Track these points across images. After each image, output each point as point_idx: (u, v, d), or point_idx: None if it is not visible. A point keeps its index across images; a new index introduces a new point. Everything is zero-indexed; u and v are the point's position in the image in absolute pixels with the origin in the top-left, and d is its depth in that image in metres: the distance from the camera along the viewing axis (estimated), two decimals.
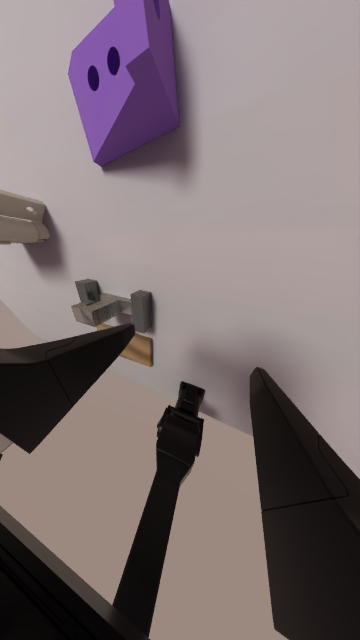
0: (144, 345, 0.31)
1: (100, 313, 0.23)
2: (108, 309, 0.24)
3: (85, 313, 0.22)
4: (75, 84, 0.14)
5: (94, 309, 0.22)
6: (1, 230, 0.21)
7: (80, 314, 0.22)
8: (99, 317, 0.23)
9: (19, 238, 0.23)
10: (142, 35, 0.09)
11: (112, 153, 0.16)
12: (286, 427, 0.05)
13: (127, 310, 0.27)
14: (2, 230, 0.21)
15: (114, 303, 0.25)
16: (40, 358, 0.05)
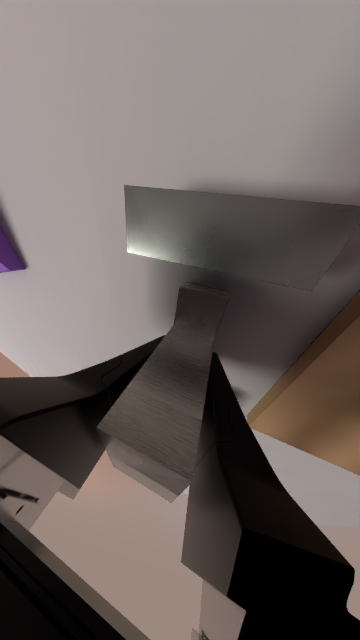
0: None
1: (153, 391, 0.05)
2: (168, 358, 0.06)
3: (117, 452, 0.04)
4: None
5: None
6: None
7: (133, 470, 0.05)
8: (164, 408, 0.05)
9: None
10: None
11: None
12: (210, 396, 0.05)
13: (209, 310, 0.08)
14: None
15: (170, 336, 0.08)
16: (99, 386, 0.05)
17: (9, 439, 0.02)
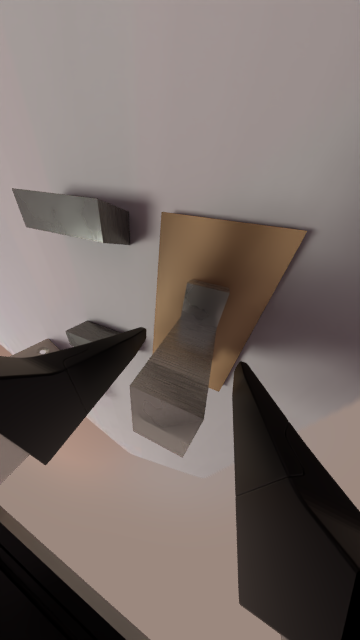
0: (183, 241, 0.09)
1: (169, 364, 0.06)
2: (179, 342, 0.08)
3: (142, 409, 0.06)
4: None
5: None
6: None
7: (153, 427, 0.06)
8: (179, 375, 0.06)
9: None
10: None
11: None
12: (258, 415, 0.05)
13: (212, 303, 0.09)
14: None
15: (178, 325, 0.09)
16: (59, 367, 0.05)
17: None
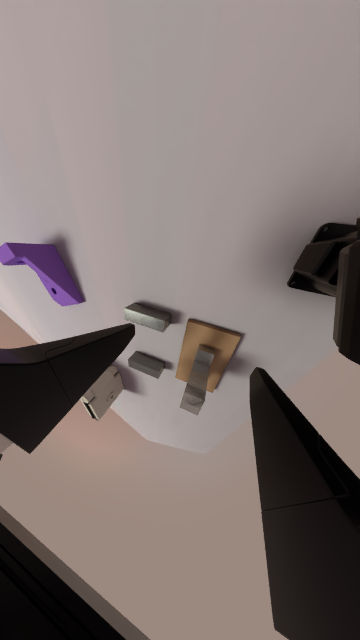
0: (196, 331, 0.23)
1: (193, 384, 0.19)
2: (195, 375, 0.21)
3: (186, 398, 0.19)
4: (61, 302, 0.31)
5: None
6: (96, 386, 0.33)
7: (188, 404, 0.19)
8: (197, 388, 0.19)
9: (106, 382, 0.35)
10: (6, 246, 0.20)
11: (73, 289, 0.28)
12: (286, 427, 0.05)
13: (208, 357, 0.22)
14: (96, 385, 0.33)
15: (194, 366, 0.23)
16: (40, 358, 0.05)
17: None
